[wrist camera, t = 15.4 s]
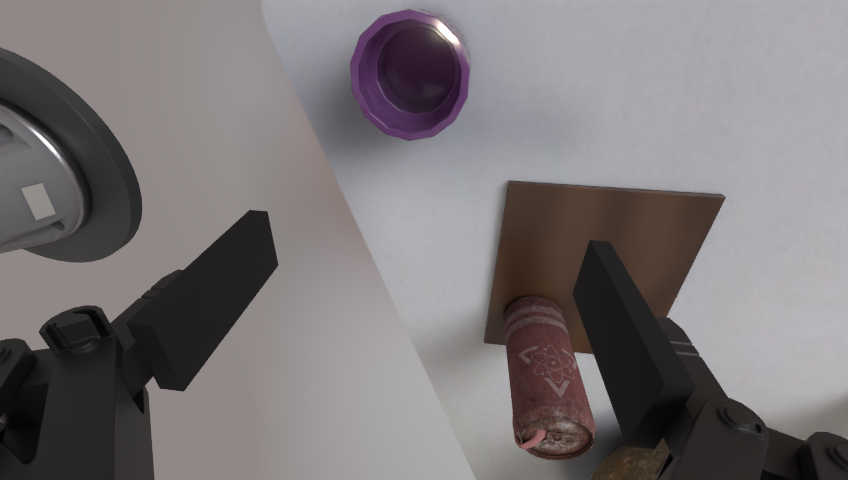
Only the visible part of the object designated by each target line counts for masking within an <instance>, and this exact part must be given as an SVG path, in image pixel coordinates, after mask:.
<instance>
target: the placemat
mask: <svg viewBox="0 0 848 480" xmlns="http://www.w3.org/2000/svg"><path fill="white" fill-rule="evenodd" d="M725 198H726V197H725V196H723V195H721V194H705V193H690V192H674V191H659V190H643V189H628V188H612V187H597V186H581V185H566V184H551V183H535V182H520V181H509V182H508V189H507V195H506V202H505V208H504V215H503V221H502V228H501V234H500V241H499V247H498V253H497V260H496V266H495V273H494V279H493V286H492V292H491V299H490V305H489V311H488V318H487V324H486V331H485V337H484V343H488V344H498V345H506V339H505V329H504V314H505V312H506V310H507V308H508V307H509V306H510V305H511V304H512V303H513V302H514V301H516V300H518V299H520V298H522V297H527V296H541V297H544V298H547V299H549V300H551V301H552V302H554V303H556V304H557V305H558V307H559V308H560V309H561V311H562V315H563V318H564V321H565V325H566V328H567V331H568V335H569V338H570V342H571V345H572V348H573V352H579V353H589V354H593V351H592V348H591V345H590V342H589V340H588V337H587V334H586V331H585V328H584V326H583V323H582V320H581V317H580V314H579V312H578V309H577V306H576V303H575V300H574V298H573V295H572V293H573V290H574V287H575V284H576V281H577V278H578V274H579V271H580V268H581V265H582V262H583V259H584V256H585V253H586V250H587V247H588V244H589V241H590V240H597V241H609V242H610V243H611V244H612V246H613V248H614V249H615V251H616V253H617V254H618V256H619V258H620V259H621V261H622V263H623V264H624V266H625V268H626V269H627V271H628V273H629V274H630V276H631V278H632V279H633V281H634V283H635V284H636V286H637V288H638V289H639V291H640V293H641V294H642V296H643V298H644V299H645V301H646V303H647V304H648V306H649V308H650V309H651V311H652V313H653V314H654V316H655V317H665V318H666V317H667V315H668V313H669V311H670V309H671V307H672V305H673V303H674V301H675V299H676V297H677V295H678V293H679V291H680V288H681V286H682V284H683V282H684V280H685V278H686V276H687V274H688V272H689V270H690V268H691V266H692V264H693V262H694V260H695V258H696V256H697V254H698V252H699V250H700V248H701V246H702V244H703V242H704V240H705V238H706V236H707V234H708V232H709V230H710V228H711V226H712V224H713V222H714V220H715V218H716V216H717V214H718V212H719V210H720V208H721V206H722V204H723V202H724V200H725Z"/></svg>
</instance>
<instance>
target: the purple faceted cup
mask: <svg viewBox="0 0 848 480" xmlns="http://www.w3.org/2000/svg"><path fill="white" fill-rule="evenodd" d="M350 70H351V84H352V93H353V95H354V97H355V99H356V101H357V103H358V105H359V107H360V109H361V111H362V113H363V115H364V116H365V118H367V119H368V120H369V121H370V122H371V123H373V124H374V125H375V126H376V127H377V128H378V129H380V130H381V131H382V132H383V133H385V134H387V135H391V136H394V137H398V138H401V139H405V140H409V141H410V140H416V139H422V138H428V137H433V136H435V135H436V134H438V133H439V132H440V131H442V130H443V129H445V128H446V127H447V126H449V125H450V124H452V123H453V122H454V121H455V119H456V117H457V116H458V114H459V112H460V110H461V108H462V107H463V105H464V103H465V101H466V99H467V97H468V85H469V73H470V55H469V52H468V49H467V46H466V44H465V41H464V38H463V35H462V34H461V32H460V31H459V30H458V29H457V28H456V27H455V26H454V25H453V24H452V23H451V22H450V21H449V20H448V19H447V18H446V17H444V16H443V15H440V14H436V13H433V12H430V11H426V10H423V9H407V10H403V11H399V12H395V13H390V14H386V15H382V16H380V17H379V18H378V19H377V20H376V21H375V22H374V23H373V24H372V25H371V26H370V27H369V28H368V29H367V30H365V31H364V32H363V33H362V34H361V36H360V37H359V40H358V43H357V45H356V48H355V51H354V54H353V56H352V59H351V62H350Z"/></svg>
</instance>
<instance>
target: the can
mask: <svg viewBox="0 0 848 480" xmlns="http://www.w3.org/2000/svg"><path fill="white" fill-rule="evenodd" d="M504 329H505V339H506V349H507V359H508V369H509V378H510V388H511V398H512V408H513V429H514V436H515V442H516V443H517V445H518V446H519V447H520V448H523V449H525V450H526V451H527V452H529V453H530V454H532V455H534V456H536V457H539V458H543V459H547V460H567V459H572V458H576V457H579V456H581V455H583V454H585V453H587V452H588V451H589V450H590V449H591V448H592V447H593V444H594V435H595V431H596V426H595V423H594V419H593V416H592V412H591V409H590V406H589V402H588V399H587V395H586V392H585V389H584V385H583V382H582V379H581V375H580V372H579V369H578V365H577V362H576V358H575V355H574V352H573V348H572V345H571V342H570V338H569V335H568V331H567V328H566V325H565V321H564V318H563V315H562V311H561V309H560V308H559V307H558V305H557V304H556V303H554V302H552V301H551V300H549V299H547V298H544V297H541V296H527V297H522V298H520V299H518V300H516V301H514V302H513V303H512V304H511V305H510V306H509V307H508V308H507V310H506V312H505V314H504Z"/></svg>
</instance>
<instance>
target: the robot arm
mask: <svg viewBox="0 0 848 480" xmlns="http://www.w3.org/2000/svg"><path fill="white" fill-rule="evenodd" d="M92 209H93V198H92V192H91V188H90V185H89V182H88V180H87V177H86V175H85V173H84V171H83V169H82V167H81V166H80V164H79V162H78V161H77V159H76V158H75V157H74V155H73V154H72V152H71V151H70V150H69V149H68V147H67V146H66V145H65V144H64V143H63V142H62V141H61V139H60V138H59V137H58V136H57V135H56V134H55V133H54V132H53V131H52V130H50V129H49V128H48V127H47V126H46V125H45V124H44V123H42V122H41V121H40V120H39V119H37V118H36V117H35V116H33V115H32V114H30V113H29V112H27V111H26V110H24V109H23V108H21V107H19V106H18V105H16V104H14V103H12V102H10V101H8V100H6V99H4V98H1V97H0V253H5V252H9V251H13V250H18V249H23V248H27V247H32V246H36V245H41V244H45V243H50V242H53V241H56V240H60V239H63V238H65V237H67V236H69V235H70V234H72V233H74V232H76V231H78V230H79V229H81V228H82V227H83V226H85V225H86V223H87V222H88V221H89V219H90V217H91V214H92ZM277 266H278V261H277V256H276V251H275V247H274V242H273V237H272V232H271V227H270V222H269V217H268V212H267V211H254V210H249V211H248V212H247V213H246V214H245V215H244V216H243V217H242V218H240V219H239V220H238V221H237V222H236V223H235V224H234V225H233V226H232V227H231V228H230V229H228V230H227V231H226V232H225V233H224V234H223V235H222V236H221V237H219V238H218V240H216V241H215V242H214V243H213V244H212V245H211V246H210V247H208V248H207V250H205V251H204V252H203V253H202V254H201V255H200V256H199V257H198V258H197V259H196V260H194V261H193V262H192V263H191V264H190V265H189V266H188V267H187V268H185V269H184V270H176V271H174V272H173V273H171V274H169V275H167V276H165V277H163V278H162V279H160V280H159V281H158V282H157V283H156V284H155V285H154V286H152V287H151V290H148V291H147V292H146V293H144V294H143V295H142V296H141V299H140V298H139V299H138V300H136V301H135V302H134V303H133V304H132V305H131V306H130V307H128V308H127V309H126V310H125V311H124V312H123V313H122V314H120V315H119V316H118V317H117V318H116V319H115V320H114V321H112V322H111V323H109V321H108V319H107V317H106V315H105V314H104V312H103V310H102V309H101V308H99V307H97V306H81V307H76V308H72V309H70V310H67V311H64V312H62V313H60V314H58V315H56V316H54V317H53V318H51V319H50V320H48V321H47V322H46V323H45V324H44V325H43V326H42V328H41V329H40V331H39V333H40V335H41V336H42V338H43V339H44V340H45V342H46V343H47V345H48V346H49V349H42V350H34V351H32V350H31V349H30V348H29V346H28V345H27V344H26V342H25V341H24V340H21V339H16V338H15V339H5V340H1V341H0V421H1V422H0V480H154V468H153V454H152V440H151V425H150V411H149V397H148V392H147V389H146V387H145V385H146V384H147V383H148V381H149V380H150V379H151V378H152V377H153V376H154V378H155V380H156V382H157V384H158V386H159V387H160V389H168V390H176V391H184V390H185V389H186V388H187V386H188V385H189V384H190V382H191V381H192V380H193V378H194V377H195V376H196V374H197V373H198V372H199V370H200V369H201V368H202V366H203V365H204V364H205V362H206V361H207V360H208V358H209V357H210V356H211V354H212V353H213V352H214V350H215V349H216V348H217V346H218V345H219V343H220V342H221V341H222V340H223V338H224V337H225V336H226V334H227V333H228V332H229V330H230V329H231V327H232V326H233V325H234V324H235V322H236V321H237V320H238V318H239V317H240V316H241V314H242V313H243V312H244V310H245V309H246V308H247V306H248V305H249V303H250V302H251V301H252V300H253V298H254V297H255V296H256V294H257V293H258V292H259V290H260V289H261V288H262V286H263V285H264V284H265V282H266V281H267V280H268V278H269V277H270V276H271V274H272V273H273V272H274V270H275V269H276V268H277ZM572 295H573V298H574V300H575V303H576V306H577V309H578V312H579V314H580V317H581V320H582V323H583V326H584V328H585V331H586V334H587V337H588V340H589V342H590V345H591V348H592V351H593V354H594V356H595V359H596V362H597V365H598V367H599V370H600V373H601V376H602V379H603V381H604V384H605V387H606V390H607V393H608V395H609V398H610V401H611V404H612V407H613V409H614V412H615V415H616V418H617V421H618V423H619V426H620V429H621V432H622V435H623V437H624V440H625V443H626V446H630V447H638V448H646V449H654V450H655V449H656V447H657V446H658V444H659V443H660V441H661V440H662V438H664V440H665V442H666V444H667V447H668V449H669V451H670V452H669V453H668V455H667V456H666V457H665V459H664V460H663V462H662V463H661V464H660V466H659V467H658V469H657V470H656V471H655V473H657V476H656V478H655V480H848V440H847V439H845V438H843V437H841V436H838V435H835V434H831V433H828V432H815V433H814V434H812V435H811V436H810V437H809V438H808V439H807V440H806V441H803V440H800V439H797V438H795V437H792V436H789V435H786V434H784V433H781V432H778V431H775V430H772V429H770V428H768V427H766V425H765V424H764V422H763V421H762V420H761V419H760V418H759V417H758V416H757V415H756V414H755V413H754V412H753V411H752V410H751V409H749V408H748V407H746V406H745V405H743V404H742V403H740V402H737V401H735V400H733V399H730V398H728V397H727V395H726V394H725V392H724V391H723V389H722V388H721V386H720V385H719V383H718V382H717V380H716V379H715V377H714V376H713V374H712V373H711V371H710V370H709V368H708V367H707V365H706V364H705V362H704V361H703V359H702V358H701V357H699V353H698V352H697V350H696V349H695V347H694V346H692V343H691V341H690V339H689V338H688V336H687V335H686V333H685V332H684V330H683V329H681V328H680V327H679V326H678V325H677V324H676V323H674V322H673V321H672V320H671V319H670V318H665V317H655V316H654V314H653V313H652V311H651V309H650V308H649V306H648V304H647V303H646V301H645V299H644V298H643V296H642V294H641V293H640V291H639V289H638V288H637V286H636V284H635V283H634V281H633V279H632V278H631V276H630V274H629V273H628V271H627V269H626V268H625V266H624V264H623V263H622V261H621V259H620V258H619V256H618V254H617V253H616V251H615V249H614V248H613V246H612V244H611V243H610V242H609V241H597V240H590V241H589V244H588V247H587V250H586V253H585V256H584V259H583V262H582V265H581V268H580V271H579V274H578V278H577V281H576V284H575V287H574V290H573V293H572Z"/></svg>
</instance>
